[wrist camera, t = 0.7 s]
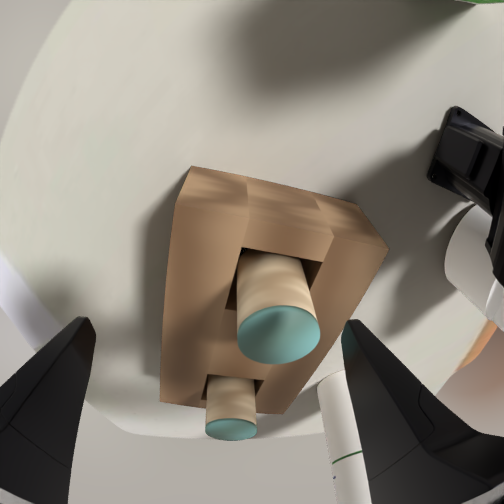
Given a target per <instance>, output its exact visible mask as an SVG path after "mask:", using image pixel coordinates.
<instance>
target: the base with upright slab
mask: <svg viewBox="0 0 504 504" xmlns="http://www.w3.org/2000/svg"><path fill="white" fill-rule="evenodd" d="M491 222H492V217H491V216H490V215H489V214H487V213H486V212H485V211H484V210H483V209H481V208H480V207H479V206H478V205H476V206H474V207H473V208H471V209H470V210H469V211H468V212H467V214H466V215H465V216H464V217H463V218H462V220H461V221H460V223H459V224H458V226H457V227H456V229H455V231H454V233H453V235H452V237H451V239H450V242H449V245H448V248H447V251H446V256H445V262H444V266H445V274H446V277H447V279H448V280H449V281H450V282H451V283H452V284H453V285H454V286H455V287H456V288H457V289H458V290H459V291H460V292H461V293H462V294H463V295H464V296H465V297H466V298H468V299H469V300H470V301H471V302H472V303H473V304H474V305H475V306H476V307H477V308H478V309H479V310H480V311H481V312H482V313H483V314H484V315H485V316H486V317H487V319H488V320H492V321H493V322H494V323H495V324H496V325H497V326H498V327H499V328H500V329H501V330H502V331H503V332H504V288H503V287H502V286H501V284H500V283H499V282H498V281H497V279H496V278H495V276H494V275H493V273H492V271H493V266H492V262H491V259H490V255H489V253H488V251H487V249H486V247H485V242H486V238H488V235H489V231H490V226H491Z"/></svg>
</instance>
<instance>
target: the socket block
mask: <svg viewBox="0 0 504 504" xmlns="http://www.w3.org/2000/svg"><path fill="white" fill-rule="evenodd" d="M241 247H245V248H251V249H256V250H262V251H267V252H272V253H278V254H283V255H288V256H294V257H299V258H300V261H301V264H302V267H303V271H304V274H305V278H306V281H307V285H308V288H309V292H310V296H311V299H312V303H313V306H314V310H315V314H316V318H317V321H318V325H319V329H320V339H319V342H318V344H317V345H316V347H315V348H314V349H313V350H312V351H311V352H310V353H308V354H307V355H305V356H304V357H302V358H300V359H298V360H295V361H292V362H288V363H283V364H263V363H259V362H256V361H253V360H251V359H249V358H247V357H246V356H245V355H243V353H242V352H241V351H240V349H239V347H238V343H237V263H238V261H239V259H240V257H241V256H239V254H240V251H241ZM388 251H389V248H388V246H387V245H386V244H385V242H384V241H383V239H382V238H381V237H380V235H379V234H378V232H377V231H376V230H375V228H374V227H373V225H372V224H371V223H370V221H369V220H368V219H367V217H366V216H365V215H364V213H363V212H362V211H361V209H360V208H359V207H358V205H357V204H355V203H351V202H347V201H344V200H340V199H336V198H333V197H329V196H325V195H321V194H318V193H314V192H310V191H306V190H302V189H298V188H294V187H289V186H285V185H281V184H277V183H272V182H268V181H264V180H259V179H255V178H250V177H245V176H241V175H236V174H231V173H226V172H221V171H216V170H211V169H206V168H200V167H195V166H191V168H190V171H189V173H188V175H187V177H186V180H185V182H184V184H183V187H182V189H181V191H180V194H179V196H178V198H177V201H176V203H175V208H174V215H173V223H172V231H171V239H170V247H169V256H168V266H167V276H166V287H165V299H164V312H163V327H162V345H161V369H160V402H166V403H171V404H178V405H184V406H191V407H198V408H206V404H207V384H208V374H213V375H221V376H229V377H238V378H248V379H254V390H255V407H256V413H264V414H284V412H285V411H286V410H287V408H288V407H289V406H290V404H291V403H292V402H293V401H294V399H295V398H296V397H297V395H298V394H299V393H300V391H301V390H302V388H303V387H304V386H305V384H306V383H307V382H308V380H309V379H310V377H311V376H312V375H313V373H314V372H315V370H316V369H317V368H318V366H319V365H320V363H321V362H322V360H323V359H324V357H325V356H326V354H327V353H328V351H329V350H330V348H331V347H332V345H333V344H334V342H335V341H336V339H337V338H338V336H339V335H340V333H341V332H342V330H343V328H344V326H345V323H346V321H347V320H349V319H350V317H351V316H352V314H353V312H354V311H355V309H356V307H357V306H358V304H359V302H360V301H361V299H362V297H363V296H364V294H365V292H366V291H367V289H368V287H369V285H370V284H371V282H372V280H373V278H374V277H375V275H376V273H377V271H378V269H379V268H380V266H381V264H382V262H383V260H384V258H385V256H386V255H387V253H388Z"/></svg>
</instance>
